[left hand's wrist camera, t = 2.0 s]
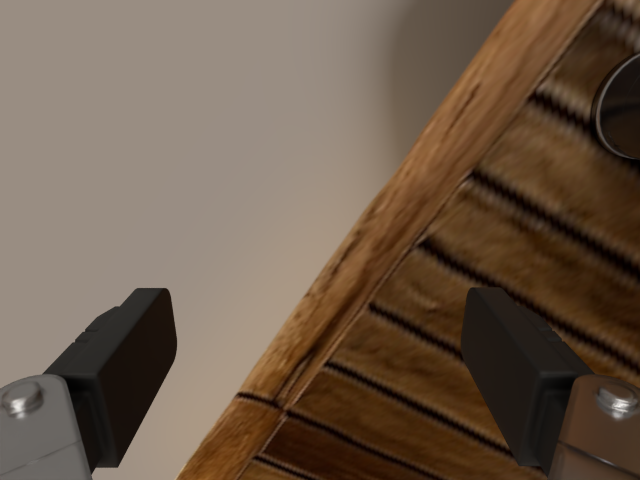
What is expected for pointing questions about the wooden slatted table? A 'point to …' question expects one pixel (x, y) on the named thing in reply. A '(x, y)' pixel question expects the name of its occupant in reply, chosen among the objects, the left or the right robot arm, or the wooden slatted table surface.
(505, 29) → the wooden slatted table surface
